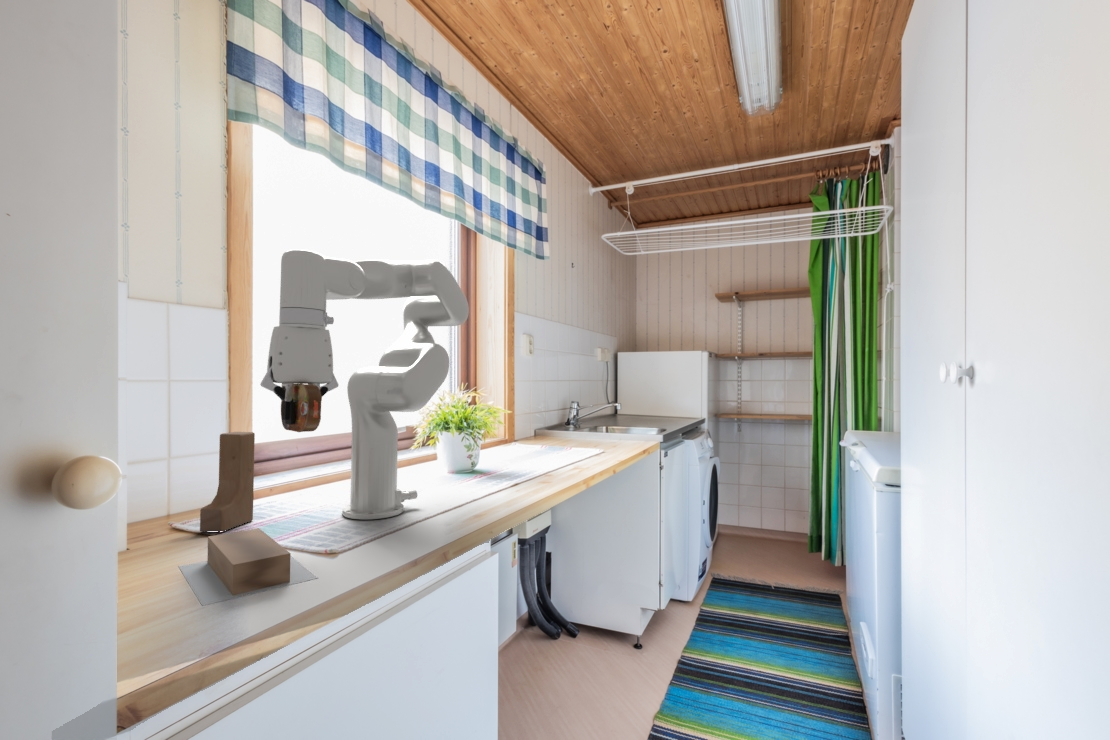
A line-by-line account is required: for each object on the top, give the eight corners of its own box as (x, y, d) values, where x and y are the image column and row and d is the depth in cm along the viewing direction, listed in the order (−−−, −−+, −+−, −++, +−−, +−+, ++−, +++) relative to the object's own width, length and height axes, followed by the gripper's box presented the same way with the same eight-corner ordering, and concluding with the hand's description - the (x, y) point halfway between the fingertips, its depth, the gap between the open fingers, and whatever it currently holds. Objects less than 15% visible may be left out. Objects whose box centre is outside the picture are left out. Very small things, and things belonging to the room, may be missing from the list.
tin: (279, 428, 100) (278, 383, 100) (297, 426, 102) (296, 382, 102) (305, 434, 89) (304, 383, 89) (325, 433, 91) (324, 383, 91)
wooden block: (220, 533, 99) (223, 437, 100) (198, 532, 100) (200, 436, 100) (253, 520, 108) (255, 432, 108) (233, 519, 109) (235, 431, 109)
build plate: (279, 553, 89) (279, 547, 89) (318, 585, 76) (318, 577, 76) (178, 573, 80) (178, 566, 80) (202, 613, 67) (202, 605, 67)
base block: (258, 553, 86) (258, 528, 86) (289, 582, 74) (290, 553, 74) (207, 562, 81) (208, 536, 81) (232, 595, 70) (233, 564, 70)
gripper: (340, 326, 104) (337, 420, 103) (246, 318, 93) (243, 424, 92) (356, 323, 98) (353, 423, 98) (258, 314, 87) (254, 427, 87)
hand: (299, 422), depth 95 cm, fingers closed on tin, 2 cm apart
